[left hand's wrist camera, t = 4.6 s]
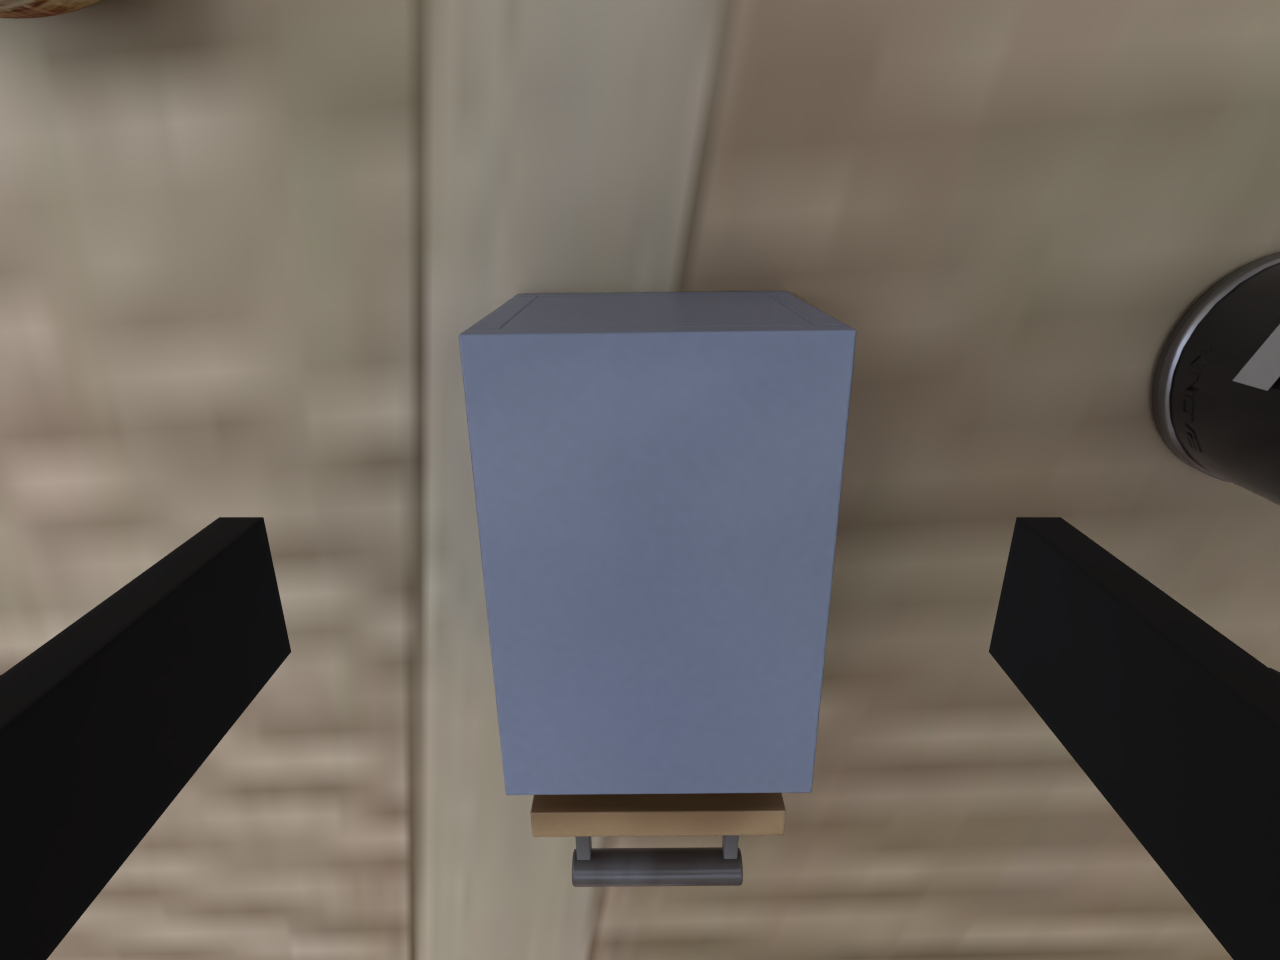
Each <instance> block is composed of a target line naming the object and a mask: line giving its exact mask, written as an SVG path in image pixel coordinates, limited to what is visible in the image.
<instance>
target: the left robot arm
mask: <svg viewBox="0 0 1280 960" xmlns="http://www.w3.org/2000/svg"><path fill="white" fill-rule="evenodd" d="M290 653H291V649H290V644H289V639H288V634H287V629H286V625H285V620H284V615H283V610H282V605H281V600H280V596H279V591H278V586H277V581H276V576H275V571H274V567H273V562H272V557H271V552H270V547H269V542H268V538H267V533H266V528H265V523H264V518H263V517H219V518H218V519H217V520H215V521H214V522H212V523H211V524H210V525H208V526H207V527H206V528H204V529H203V530H201V531H200V532H199V533H197V534H196V535H194V536H193V537H192V538H190V539H189V540H188V541H186V542H185V543H183V544H182V545H181V546H179V547H178V548H177V549H175V550H174V551H172V552H171V553H170V554H168V555H167V556H165V557H164V558H163V559H161V560H160V561H159V562H157V563H156V564H154V565H153V566H152V567H150V568H149V569H148V570H146V571H145V572H143V573H142V574H141V575H139V576H138V577H136V578H135V579H134V580H132V581H131V582H130V583H128V584H127V585H125V586H124V587H123V588H121V589H120V590H119V591H117V592H116V593H114V594H113V595H112V596H110V597H109V598H107V599H106V600H105V601H103V602H102V603H101V604H99V605H98V606H96V607H95V608H94V609H92V610H91V611H90V612H88V613H87V614H85V615H84V616H83V617H81V618H80V619H78V620H77V621H76V622H74V623H73V624H72V625H70V626H69V627H67V628H66V629H65V630H63V631H62V632H61V633H59V634H58V635H56V636H55V637H54V638H52V639H51V640H49V641H48V642H47V643H45V644H44V645H43V646H41V647H40V648H38V649H37V650H36V651H34V652H33V653H32V654H30V655H29V656H27V657H26V658H25V659H23V660H22V661H20V662H19V663H18V664H16V665H15V666H14V667H12V668H11V669H9V670H8V671H7V672H5V673H4V674H2V675H0V960H46V959H47V958H48V957H49V956H50V954H51V953H52V952H53V951H54V949H55V948H56V947H57V946H58V944H59V943H60V942H61V941H62V939H63V938H64V937H65V936H66V934H67V933H68V932H69V931H70V929H71V928H72V927H73V926H74V924H75V923H76V922H77V920H78V919H79V918H80V917H81V915H82V914H83V913H84V912H85V910H86V909H87V908H88V907H89V905H90V904H91V903H92V902H93V900H94V899H95V898H96V897H97V895H98V894H99V893H100V892H101V890H102V889H103V888H104V887H105V885H106V884H107V883H108V881H109V880H110V879H111V878H112V876H113V875H114V874H115V873H116V871H117V870H118V869H119V868H120V866H121V865H122V864H123V863H124V861H125V860H126V859H127V858H128V856H129V855H130V854H131V853H132V851H133V850H134V849H135V848H136V846H137V845H138V844H139V842H140V841H141V840H142V839H143V837H144V836H145V835H146V834H147V832H148V831H149V830H150V829H151V827H152V826H153V825H154V824H155V822H156V821H157V820H158V819H159V817H160V816H161V815H162V814H163V812H164V811H165V810H166V809H167V807H168V806H169V805H170V803H171V802H172V801H173V800H174V798H175V797H176V796H177V795H178V793H179V792H180V791H181V790H182V788H183V787H184V786H185V785H186V783H187V782H188V781H189V780H190V778H191V777H192V776H193V775H194V773H195V772H196V771H197V770H198V768H199V767H200V766H201V764H202V763H203V762H204V761H205V759H206V758H207V757H208V756H209V754H210V753H211V752H212V751H213V749H214V748H215V747H216V746H217V744H218V743H219V742H220V741H221V739H222V738H223V737H224V736H225V734H226V733H227V732H228V731H229V729H230V728H231V727H232V725H233V724H234V723H235V722H236V720H237V719H238V718H239V717H240V715H241V714H242V713H243V712H244V710H245V709H246V708H247V707H248V705H249V704H250V703H251V702H252V700H253V699H254V698H255V697H256V695H257V694H258V693H259V692H260V690H261V689H262V688H263V686H264V685H265V684H266V683H267V681H268V680H269V679H270V678H271V676H272V675H273V674H274V673H275V671H276V670H277V669H278V668H279V666H280V665H281V664H282V663H283V661H284V660H285V659H286V658H287V656H288V655H289V654H290ZM989 653H990V654H991V655H992V656H993V658H994V659H995V660H996V661H997V663H998V664H999V665H1000V666H1001V668H1002V669H1003V670H1004V671H1005V673H1006V674H1007V675H1008V676H1009V678H1010V679H1011V680H1012V681H1013V683H1014V684H1015V685H1016V686H1017V688H1018V689H1019V690H1020V692H1021V693H1022V694H1023V695H1024V697H1025V698H1026V699H1027V700H1028V702H1029V703H1030V704H1031V705H1032V707H1033V708H1034V709H1035V710H1036V712H1037V713H1038V714H1039V715H1040V717H1041V718H1042V719H1043V720H1044V722H1045V723H1046V724H1047V725H1048V727H1049V728H1050V729H1051V731H1052V732H1053V733H1054V734H1055V736H1056V737H1057V738H1058V739H1059V741H1060V742H1061V743H1062V744H1063V746H1064V747H1065V748H1066V749H1067V751H1068V752H1069V753H1070V754H1071V756H1072V757H1073V758H1074V759H1075V761H1076V762H1077V763H1078V764H1079V766H1080V767H1081V768H1082V770H1083V771H1084V772H1085V773H1086V775H1087V776H1088V777H1089V778H1090V780H1091V781H1092V782H1093V783H1094V785H1095V786H1096V787H1097V788H1098V790H1099V791H1100V792H1101V793H1102V795H1103V796H1104V797H1105V798H1106V800H1107V801H1108V802H1109V803H1110V805H1111V806H1112V807H1113V809H1114V810H1115V811H1116V812H1117V814H1118V815H1119V816H1120V817H1121V819H1122V820H1123V821H1124V822H1125V824H1126V825H1127V826H1128V827H1129V829H1130V830H1131V831H1132V832H1133V834H1134V835H1135V836H1136V837H1137V839H1138V840H1139V841H1140V842H1141V844H1142V845H1143V846H1144V848H1145V849H1146V850H1147V851H1148V853H1149V854H1150V855H1151V856H1152V858H1153V859H1154V860H1155V861H1156V863H1157V864H1158V865H1159V866H1160V868H1161V869H1162V870H1163V871H1164V873H1165V874H1166V875H1167V876H1168V878H1169V879H1170V880H1171V881H1172V883H1173V884H1174V885H1175V887H1176V888H1177V889H1178V890H1179V892H1180V893H1181V894H1182V895H1183V897H1184V898H1185V899H1186V900H1187V902H1188V903H1189V904H1190V905H1191V907H1192V908H1193V909H1194V910H1195V912H1196V913H1197V914H1198V915H1199V917H1200V918H1201V919H1202V920H1203V922H1204V923H1205V924H1206V926H1207V927H1208V928H1209V929H1210V931H1211V932H1212V933H1213V934H1214V936H1215V937H1216V938H1217V939H1218V941H1219V942H1220V943H1221V944H1222V946H1223V947H1224V948H1225V949H1226V951H1227V952H1228V953H1229V954H1230V956H1231V957H1232V958H1233V959H1234V960H1280V672H1278V671H1276V670H1274V669H1272V668H1268V667H1266V666H1265V665H1264V664H1262V663H1261V662H1260V661H1258V660H1257V659H1255V658H1254V657H1253V656H1251V655H1250V654H1248V653H1247V652H1246V651H1244V650H1243V649H1242V648H1240V647H1239V646H1237V645H1236V644H1235V643H1233V642H1232V641H1231V640H1229V639H1228V638H1226V637H1225V636H1224V635H1222V634H1221V633H1219V632H1218V631H1217V630H1215V629H1214V628H1213V627H1211V626H1210V625H1208V624H1207V623H1206V622H1204V621H1203V620H1202V619H1200V618H1199V617H1197V616H1196V615H1195V614H1193V613H1192V612H1190V611H1189V610H1188V609H1186V608H1185V607H1184V606H1182V605H1181V604H1179V603H1178V602H1177V601H1175V600H1174V599H1173V598H1171V597H1170V596H1168V595H1167V594H1166V593H1164V592H1163V591H1161V590H1160V589H1159V588H1157V587H1156V586H1155V585H1153V584H1152V583H1150V582H1149V581H1148V580H1146V579H1145V578H1144V577H1142V576H1141V575H1139V574H1138V573H1137V572H1135V571H1134V570H1132V569H1131V568H1130V567H1128V566H1127V565H1126V564H1124V563H1123V562H1121V561H1120V560H1119V559H1117V558H1116V557H1115V556H1113V555H1112V554H1110V553H1109V552H1108V551H1106V550H1105V549H1103V548H1102V547H1101V546H1099V545H1098V544H1097V543H1095V542H1094V541H1092V540H1091V539H1090V538H1088V537H1087V536H1086V535H1084V534H1083V533H1081V532H1080V531H1079V530H1077V529H1076V528H1074V527H1073V526H1072V525H1070V524H1069V523H1068V522H1066V521H1065V520H1063V519H1062V518H1061V517H1017V518H1016V523H1015V528H1014V533H1013V538H1012V542H1011V547H1010V552H1009V557H1008V562H1007V567H1006V571H1005V576H1004V581H1003V586H1002V591H1001V596H1000V600H999V605H998V610H997V615H996V620H995V625H994V629H993V634H992V639H991V644H990V649H989Z"/></svg>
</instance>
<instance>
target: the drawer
mask: <svg viewBox="0 0 1280 960" xmlns="http://www.w3.org/2000/svg"><path fill="white" fill-rule="evenodd" d="M785 814H786V810H785V806H784V802H783V798H782V794H781V793H689V794H568V795H534V797H533V803H532V808H531V823H532V834H533V837H575V836H576V849H575V850H574V852H573V860H572V883H573V886H575V887H604V886H735V885H742V881H743V866H742V856H741V851H740V849H739V848H738V838H739V835H783V834H784V826H785ZM700 835H723V840H722V847H714V848H592V845H591V836H700Z"/></svg>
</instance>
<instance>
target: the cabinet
mask: <svg viewBox="0 0 1280 960" xmlns="http://www.w3.org/2000/svg"><path fill="white" fill-rule="evenodd" d="M459 342H460V352H461V361H462V371H463V381H464V391H465V400H466V410H467V420H468V430H469V439H470V449H471V459H472V469H473V478H474V488H475V498H476V507H477V517H478V527H479V537H480V546H481V556H482V566H483V576H484V585H485V595H486V605H487V615H488V624H489V634H490V644H491V653H492V663H493V673H494V683H495V692H496V702H497V712H498V722H499V731H500V741H501V751H502V761H503V770H504V780H505V790H506V795H568V794H689V793H810V792H811V791H812V782H813V772H814V761H815V751H816V741H817V731H818V721H819V710H820V700H821V690H822V680H823V669H824V659H825V649H826V639H827V629H828V618H829V608H830V598H831V588H832V578H833V567H834V557H835V547H836V537H837V526H838V516H839V506H840V496H841V486H842V475H843V465H844V455H845V445H846V434H847V424H848V414H849V404H850V394H851V383H852V373H853V363H854V353H855V342H856V330H855V329H853V328H851V327H850V326H848V325H846V324H844V323H842V322H840V321H839V320H837V319H835V318H833V317H831V316H830V315H828V314H826V313H824V312H823V311H821V310H819V309H817V308H815V307H814V306H812V305H810V304H808V303H806V302H805V301H803V300H801V299H799V298H798V297H796V296H794V295H792V294H791V293H789V292H787V291H732V292H646V293H560V294H517V295H516V296H514V297H513V298H512V299H510V300H509V301H508V302H506V303H505V304H503V305H502V306H500V307H499V308H497V309H496V310H495V311H493V312H492V313H490V314H489V315H487V316H486V317H484V318H483V319H482V320H480V321H479V322H477V323H476V324H474V325H473V326H471V327H470V328H469V329H467V330H465V331H464V332H462V333H461V334H460V335H459Z"/></svg>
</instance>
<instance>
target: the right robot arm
mask: <svg viewBox="0 0 1280 960" xmlns="http://www.w3.org/2000/svg"><path fill="white" fill-rule="evenodd" d="M1153 409H1154V415H1155V420H1156V424H1157V426H1158V429H1159V432H1160V434H1161V436H1162V438H1163V440H1164V441H1165V443H1166V444H1167V446H1168V447H1169V448H1170V450H1171V451H1172V452H1173V453H1174V454H1175V455H1176V456H1177V457H1178V458H1179V459H1181V460H1182V461H1183V462H1185V463H1186V464H1188V465H1189V466H1191V467H1193V468H1195V469H1197V470H1199V471H1201V472H1203V473H1205V474H1208V475H1210V476H1212V477H1215V478H1217V479H1220V480H1223V481H1227V482H1231V483H1234V484H1236V485H1238V486H1240V487H1242V488H1245V489H1247V490H1249V491H1251V492H1253V493H1255V494H1257V495H1259V496H1262V497H1264V498H1266V499H1268V500H1269V501H1271V502H1273V503H1276V504H1278V505H1280V252H1279V253H1275V254H1272V255H1269V256H1266V257H1263V258H1260V259H1258V260H1256V261H1253V262H1251V263H1249V264H1247V265H1245V266H1243V267H1241V268H1239V269H1237V270H1236V271H1234V272H1233V273H1231V274H1229V275H1228V276H1226V277H1225V278H1223V279H1222V280H1221V281H1219V282H1218V283H1217V284H1215V285H1214V286H1213V287H1212V288H1210V289H1209V290H1208V291H1207V292H1206V293H1205V294H1204V295H1203V296H1202V297H1201V298H1200V299H1199V300H1198V301H1197V302H1196V303H1195V304H1194V305H1193V306H1192V307H1191V308H1190V309H1189V310H1188V312H1187V313H1186V314H1185V315H1184V317H1183V318H1182V319H1181V321H1180V322H1179V323H1178V325H1177V326H1176V328H1175V330H1174V331H1173V333H1172V334H1171V336H1170V338H1169V340H1168V342H1167V344H1166V346H1165V348H1164V350H1163V353H1162V355H1161V357H1160V360H1159V364H1158V367H1157V370H1156V375H1155V379H1154V387H1153Z"/></svg>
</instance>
